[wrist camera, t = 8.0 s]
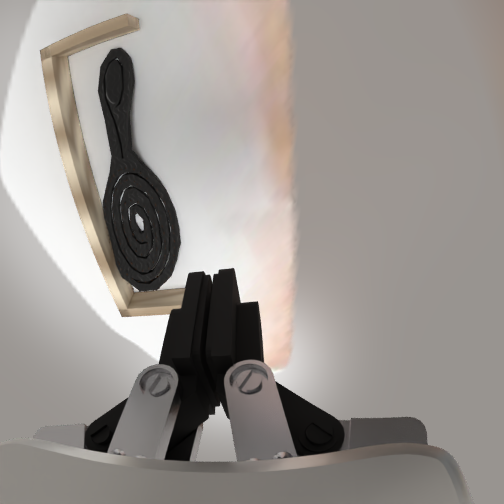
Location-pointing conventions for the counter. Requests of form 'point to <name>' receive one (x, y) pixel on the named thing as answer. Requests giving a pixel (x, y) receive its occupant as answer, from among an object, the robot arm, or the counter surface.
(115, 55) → the hairbrush
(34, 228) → the counter surface
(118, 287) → the u-shaped wooden frame
